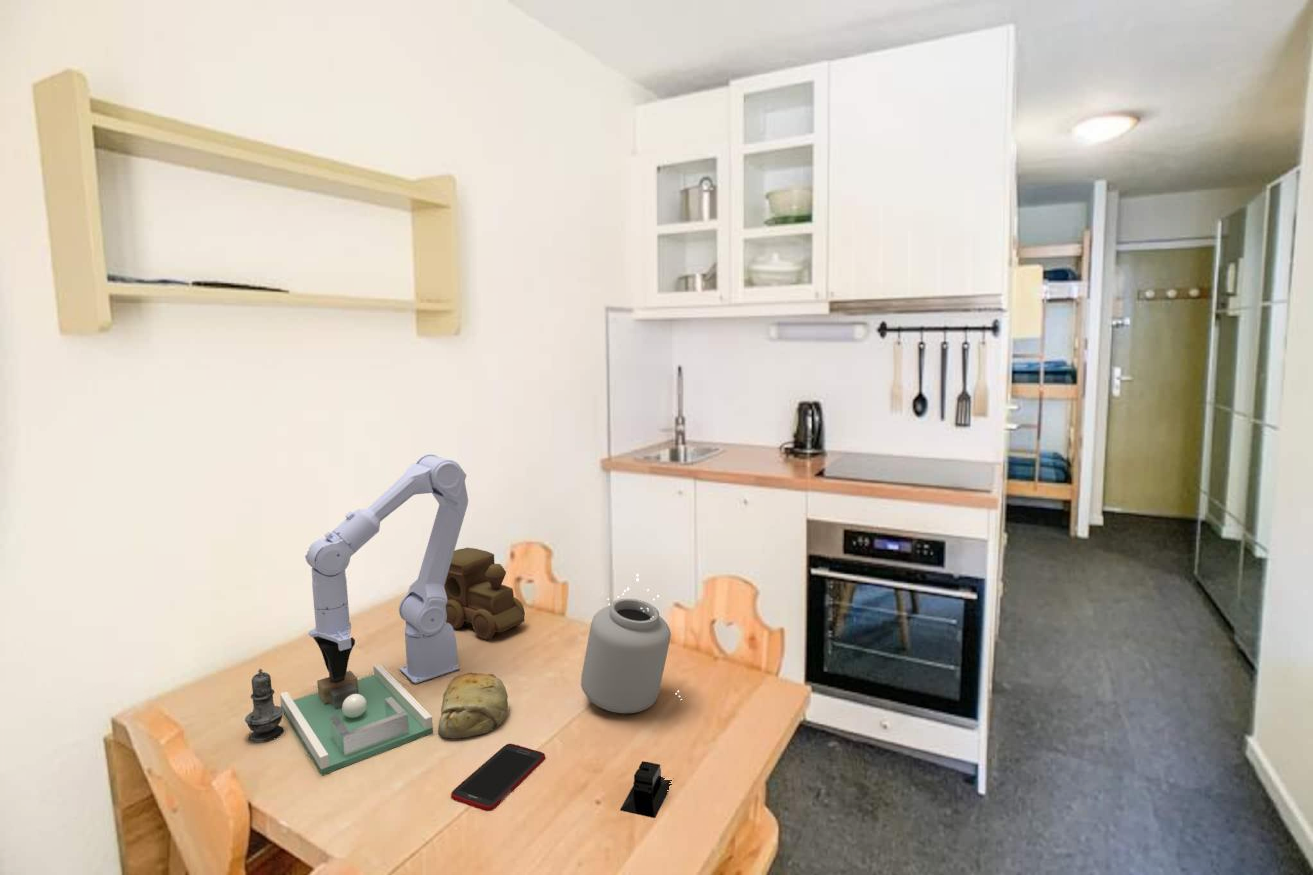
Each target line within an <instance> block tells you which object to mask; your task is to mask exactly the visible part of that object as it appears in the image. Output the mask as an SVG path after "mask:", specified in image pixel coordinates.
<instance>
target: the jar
mask: <svg viewBox="0 0 1313 875" xmlns="http://www.w3.org/2000/svg"><path fill="white" fill-rule="evenodd" d="M635 576H636V577H639V574H638V573H637V574H636V575H635ZM635 581H636V582H639V581H640V579H639V578H636V580H635ZM627 591H630V588H629V587H627V588H626V589H624V590H623V593H622V596H624V593H626V592H627ZM646 591H647V592H649V589H647V590H646ZM656 597H657V598H660V595H659V594H658V595H656ZM617 598H618V599H615V600H614V601H613V602H612V603H611V604H610V603H608V606H606V607H605V606H604V607H602V608H601V609H599V611H597V612H596V613H595V614H594V615H593V618H592V620H591V623H590V627H589V634H588V638H587V644H586V650H585V655H584V662H583V664H582V665H583V666H582V671H581V677H580V678H581V679H580V686H581V690H582V691H583V693H584V695H585V697H586V698H587V699H588V700H589V701H590V702H591V703H592V704H594V705H595V706H597V707H599V708H601V709H603V710H606V711H608V712H612V713H617V714H636V713H640V712H643V711H645V710H647V709H649V708H650V707H651V706H653V705H654V704H655V702H656V700H657V699H658V697H659V693H660V689H661V684H662V680H663V679H662V678H663V676H664V670H665V666H666V661H667V655H668V651H669V647H670V643H671V636H672V633H671V632H672V631H671V629H670V626H669V625H668V623H667V622H666V621H665V619H664V618H663V617H661V616H660V612H659V610H658V609H657V608H656V607H655V606H654V605H652V604H650V603H649V602H646V601H643V600H641V599H640V600H639V599H634V598H620V596H617ZM619 598H620V599H619ZM607 600H608V601H609V600H610V599H609V598H607ZM652 600H653V601H655V598H653V599H652ZM678 693H680V690H677V692H675V695H677V694H678ZM678 698H681V695H678ZM681 700H683V698H681V699H680V701H681Z"/></svg>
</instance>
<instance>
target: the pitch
mask: <svg viewBox="0 0 1313 875" xmlns="http://www.w3.org/2000/svg"><path fill="white" fill-rule="evenodd" d="M357 680H358V694H360V695H362V696H363V697H364V698H365V699H366V703H367V706H366V709H365V711H364V713H363V714H362V715H360V716H359V717H356V718H349V717H347V716H346V715H345V714H344V713H343V711H342V707H339V708H336V709H335V708H334V706H333V705H332V704H331V702H329V703H326V704H324V703H323V701H322V700H321V698H320V697H319V696H318V691H317V692H314V693H311V694H307V695H305V696H302V697H298V698H296V699H292V697H291V695H290V693H289V692H288V691H285V692H281V693H280V694H279V699H280V707H281V708H283V709H284V713H283V715H284V716H285V717H286V719H287V721H288V722H289V724H290V726H291V727H292V729H293V730H294V732H295V734H296V736H297V737H298V739H299V740H300V742H301V744H302V745H303V747H304V749H305V750H306V752H307V754H308V755H309V756H310V758H311V760H312V762H313V764H314V765H315V767H316V768H317V770H318V772H319V774H320V775H321V776H324V775H326V774H329V773H332V772H335V771H337V770H340V769H342V768H344V767H347V766H350V765H352V764H355V763H358V762H360V761H363V760H366V759H368V758H370V757H371V758H372V757H373V756H375V755H378V754H381V753H384V752H386V751H389V750H391V749H394V748H397V747H399V746H402V745H404V744H405V745H406V744H407V743H410V742H414V741H415V740H418V739H421V738H423V737H426V736H428V735H431V734H433V733H434V725H433V724H434V723H433V722H434V721H433V716H432V715H431V714H430V713H429V711H427V710H426V709H425V708H424V707H423V706H422V705H421V704H420V703H419V702H418V701H417V700H416V699H415V698H414V697H413V695H411V694H410V693H409V691H407V689H406V688H405V687H404V686H402V685H401V684H400V683H399V681H397V680H396V678H395V677H393V676H392V674H390V673H389V671H387V670H386V668H385V667H384V666H382V664H381V663H377V664H374V665H373V674H372V675H370V676H366V677H363V678H360V679H357ZM389 697H392V698H393V699H394V700H395V701H396V702H397V703H398V704H399V705H400V706H401V707H402V708H403V710H404V711H405V712H406V713H407V714H408V725H409V734H406V735H403V736H401V737H398V738H395V739H393V740H390V741H387V742H385V743H382V744H379V745H376V746H374V747H371V748H368V749H366V750H363V751H360V752H358V753H355V754H352V755H350V756H347V757H344V755H343V754H342V752H341V751H340V749H339V748H338V747H337V745H336V744H335V742H334V741H333V739H332V738H331V732H330V720H329V718H330V717H333V716H336V715H337V716H338V717H339V719H340V720H341V721H342V723H343V724H344V725H345V727H346V728H347V729H348V731H351V730H353V729H356V728H359V727H362V726H365V725H368V724H370V723H373V722H376V721H379V720H382V719H385V718H386V711H385V699H386V698H389Z"/></svg>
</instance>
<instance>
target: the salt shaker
mask: <svg viewBox="0 0 1313 875" xmlns="http://www.w3.org/2000/svg"><path fill="white" fill-rule="evenodd" d="M257 672H258V673H256V674H254V675H253V677H252V678H251V688H252V693H251V694H250V699H251V700H252V704H253V705H252V706H253V709H252V711H250V712H249V713H248V714H247V715H246V716H245V718H244V721H245V723H246V725H247V726H248V728H249V729H250V731H252V732H251V733H250V734H249V736H248V740H249V742H251V743H254V744H262V743H261V742H263V743H266V742H267V743H268V742H270V740H271V741H273V740H275V739H277V738H278V736H279V737H280V736H282V734H283V733H284V729H285V728H284V727H283V726H281V725H280V723H281V722H282V718H283V715H284V709H283V708H281V706H279V705H275V702H274V694H275V690H274V689H273V688H272V679H271V675H270V674H269V673H268V672H264V671H263V669H262V668H259V669H258V670H257ZM274 738H275V739H274Z"/></svg>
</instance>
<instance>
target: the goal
mask: <svg viewBox="0 0 1313 875" xmlns="http://www.w3.org/2000/svg"><path fill="white" fill-rule="evenodd" d="M385 711H386V718H385V719H382V720H379V721H376V722H373V723H370V724H368V725H365V726H362V727H359V728H356V729H353V730H351V731H348V729H347V728H346V727H345V725H344V724H343V723H342V721H341V720H340V719H339V717H338V716H337V715H336V716H333V717H330V718H329V720H330V732H331V738H332V739H333V741H334V742H335V744H336V745H337V747H338V748H339V749H340V751H341V752H342V754H343V755H344V757H347V756H350V755H352V754H355V753H358V752H360V751H363V750H366V749H368V748H371V747H374V746H376V745H379V744H382V743H385V742H387V741H390V740H393V739H395V738H398V737H401V736H403V735H406V734H409V725H408V714H407V713H406V712H405V711H404V710H403V708H402V707H401V706H400V705H399V704H398V703H397V702H396V701H395V700H394V699H393V698H392V697H389V698H386V699H385Z"/></svg>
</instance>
